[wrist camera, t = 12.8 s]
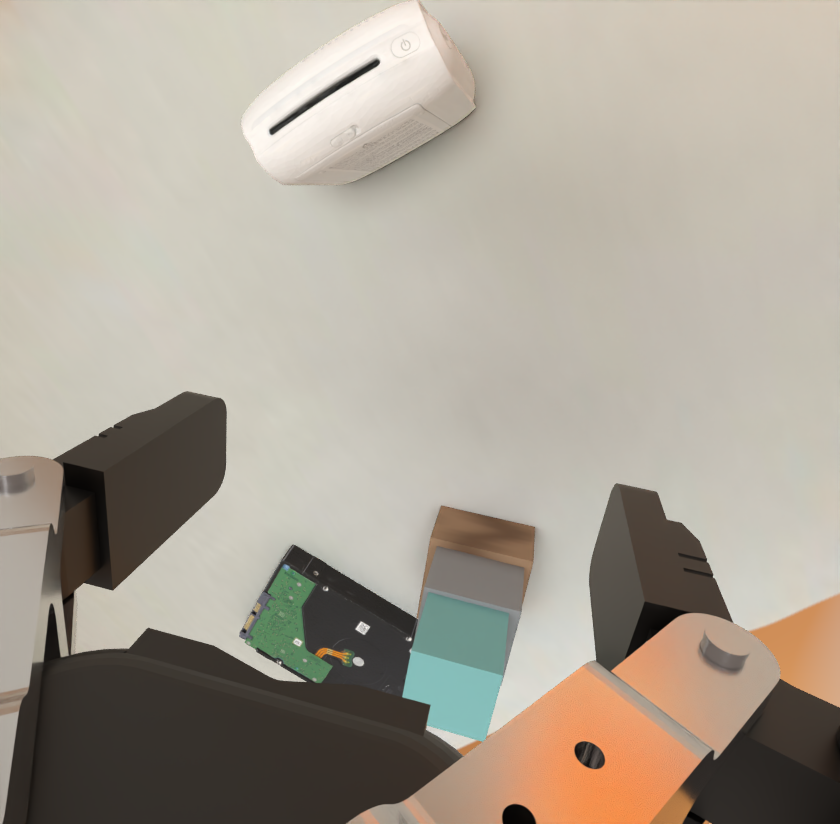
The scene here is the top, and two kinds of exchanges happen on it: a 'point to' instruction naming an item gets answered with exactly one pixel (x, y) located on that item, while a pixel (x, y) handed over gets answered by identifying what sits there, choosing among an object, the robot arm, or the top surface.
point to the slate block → (477, 585)
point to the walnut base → (482, 540)
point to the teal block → (458, 664)
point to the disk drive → (330, 627)
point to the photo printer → (361, 100)
